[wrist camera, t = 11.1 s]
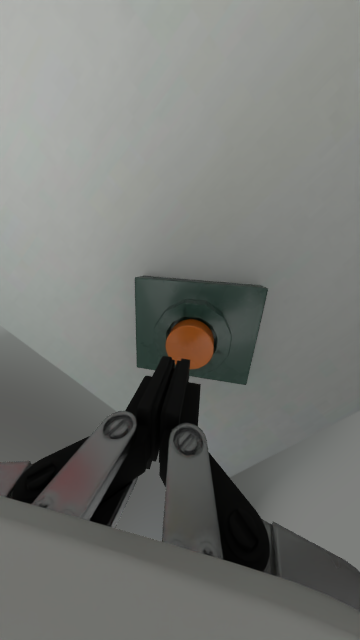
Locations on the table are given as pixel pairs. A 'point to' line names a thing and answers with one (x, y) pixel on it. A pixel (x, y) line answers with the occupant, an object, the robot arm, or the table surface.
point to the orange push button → (191, 343)
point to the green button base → (208, 307)
